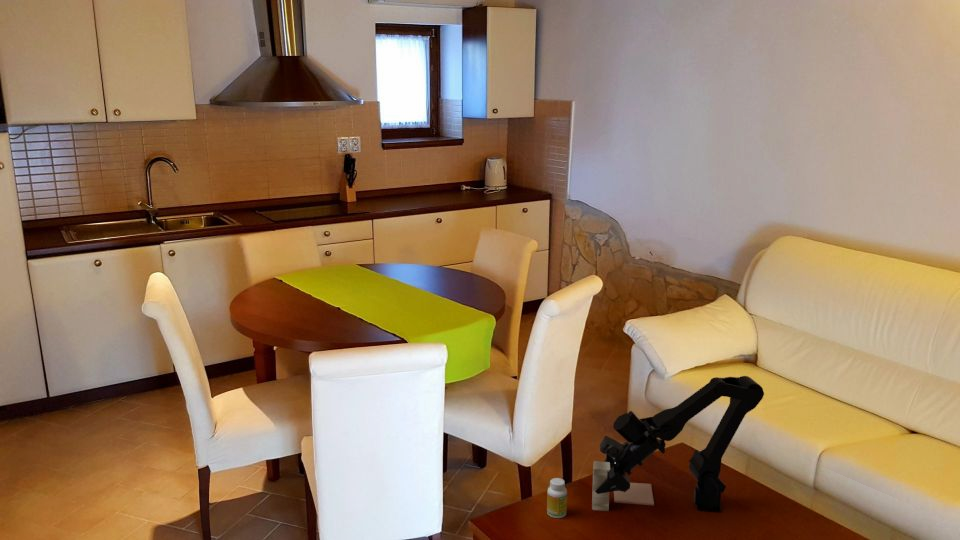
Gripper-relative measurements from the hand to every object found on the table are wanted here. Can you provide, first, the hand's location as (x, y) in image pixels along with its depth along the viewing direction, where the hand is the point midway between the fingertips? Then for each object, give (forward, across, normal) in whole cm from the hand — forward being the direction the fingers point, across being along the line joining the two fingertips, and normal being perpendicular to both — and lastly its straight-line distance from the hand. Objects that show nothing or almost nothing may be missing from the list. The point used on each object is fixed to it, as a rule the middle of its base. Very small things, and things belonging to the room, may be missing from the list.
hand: (596, 484), depth 202 cm
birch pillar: (+4, 0, +6) cm, 7 cm away
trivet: (-3, -8, +12) cm, 15 cm away
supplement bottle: (+12, +6, -3) cm, 14 cm away
